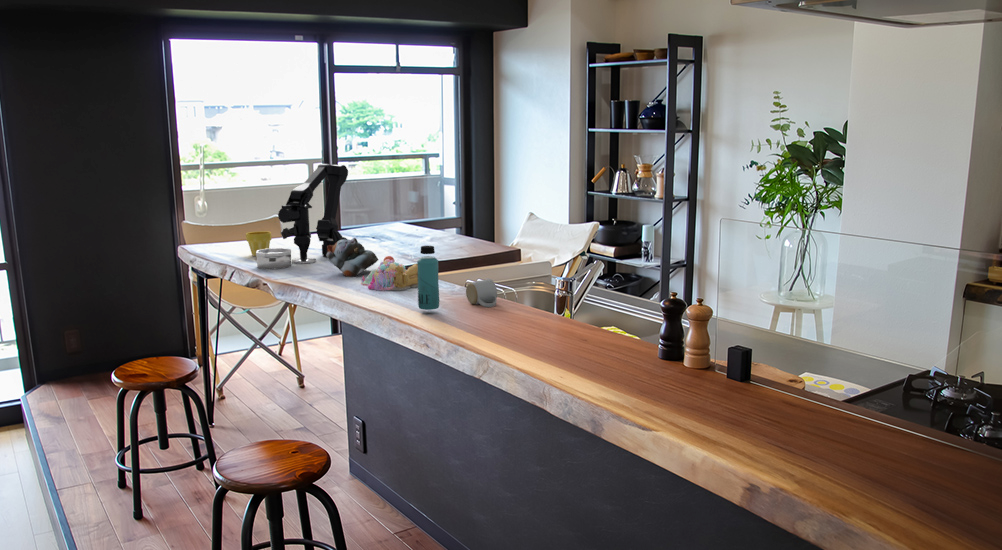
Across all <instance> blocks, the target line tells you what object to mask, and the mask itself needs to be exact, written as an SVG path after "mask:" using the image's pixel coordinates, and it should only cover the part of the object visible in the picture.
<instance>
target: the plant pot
mask: <svg viewBox="0 0 1002 550" xmlns="http://www.w3.org/2000/svg"><path fill="white" fill-rule="evenodd" d="M245 238H246V239H245V240H246V242H248V246H249V248H250V252H251V255H252V256H253V257H257V256H256V251H257V250H262V249H268V248H270V244H271V240H272V232H271V231H263V230H262V231H250V232H246V233H245Z"/></svg>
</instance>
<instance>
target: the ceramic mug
mask: <svg viewBox="0 0 1002 550" xmlns="http://www.w3.org/2000/svg"><path fill="white" fill-rule="evenodd" d="M465 296H466V299H467V300H468V302H469V304H471V305H480V306H482V307H484V308H493V307H495V306H496V304H497V301H498V300H497V298H498V289H497V286H496V283H495V281H493V280H492V279H491V278H487V279H482V280H477V281H473V282H471V283H469V284H468V285H467V286H466V288H465Z"/></svg>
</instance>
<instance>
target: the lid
mask: <svg viewBox="0 0 1002 550" xmlns="http://www.w3.org/2000/svg"><path fill="white" fill-rule="evenodd" d="M316 262H317V258H315V257H308V253H307V254H306V257H305V259H302V257H301V253H300V252H299V257H297V258H293V259H292V258H291V264H296V265H305V264H306V265H307V264H308V265H309V264H313V263H316Z"/></svg>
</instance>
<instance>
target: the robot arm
mask: <svg viewBox="0 0 1002 550" xmlns="http://www.w3.org/2000/svg"><path fill="white" fill-rule="evenodd" d="M348 176H349V170H348V167H347V166H346V165H345V164H329V163H320V164H318V165H317V168H315V170H314V171H313V173H311V175H309V177H308V178H307V179H306V180H305V181H304V182H303V183H302V184H300V185H298V186H296V187H294V188H293V189H292V190H291V191H290V193H289V197H288V199H287V201H286V203H285V205H284V204H283V205H281V209H279V211H278V213H277V218H278V220H279V221H280V222H281V223H283V224H285V223H293V226H290V227H285V228H282V230H281V231H280V235H281V238H282V239H283V240H285V239H287V238H290V237H291V236H293V237H294V238H293V244H294V245H296V246H297V247H298V249H299V254H300V253H301V257H302V259H305V257H306V254H307V255H308V251H309V249H310V245H311V238H312V233H311V231H310V215H309V211H310V210H309V209H312V208H313V206H312V205H311V204H310V202H311V200H312V198H313V196H314V191H315V190H316V189H317V188H318V187H319V185H320V184H321V183H322V182H323V181H324V180H325V179H326V178H327V182H328V183H329V184H328V191H327V197H326V202H325V206H324V207H325V208H324V214H323V217H322V218H321V219H318V220H317V223H316V224H317V225H316V227H315V229H316V235H317V237H318V241H319V242H322V244H321V253H322V254H321V255H322V256H323V257H325V258H326V257H327V256H326V254H327V249H328V248H327V246H328V245H333V246H334V245H335V243H336V242H338V241H339V240H340V239H341V237H343V235H342V234H341V232H340V231H339V229H338V227H339V225H338V222H337V220H336V218H337V213H338V212H337V211H338V206H339V201H340V195H341V189H342V186H343V185H344V184H345V183H346V181H347V179H348Z"/></svg>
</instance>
